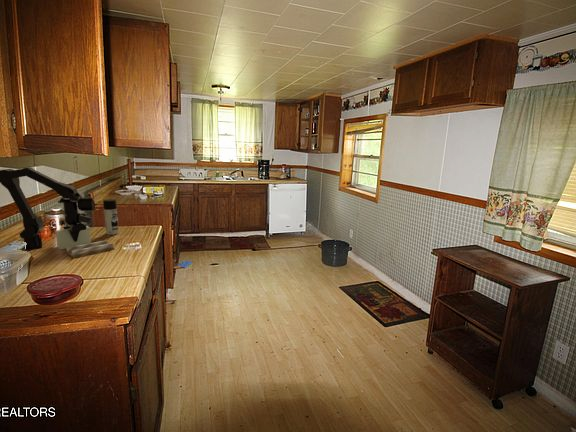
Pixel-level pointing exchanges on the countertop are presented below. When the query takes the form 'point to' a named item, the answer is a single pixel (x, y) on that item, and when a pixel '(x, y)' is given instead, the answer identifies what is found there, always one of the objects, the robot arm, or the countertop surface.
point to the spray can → (111, 217)
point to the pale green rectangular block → (67, 241)
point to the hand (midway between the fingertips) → (74, 240)
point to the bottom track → (89, 249)
